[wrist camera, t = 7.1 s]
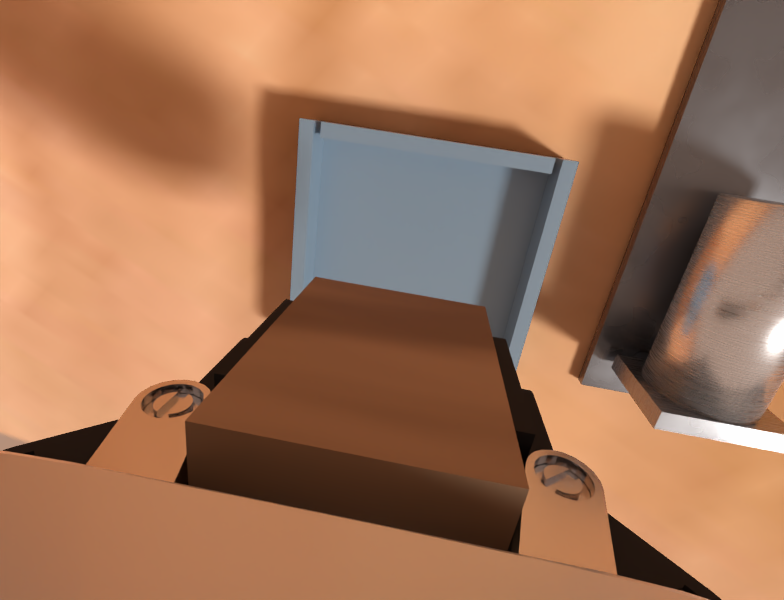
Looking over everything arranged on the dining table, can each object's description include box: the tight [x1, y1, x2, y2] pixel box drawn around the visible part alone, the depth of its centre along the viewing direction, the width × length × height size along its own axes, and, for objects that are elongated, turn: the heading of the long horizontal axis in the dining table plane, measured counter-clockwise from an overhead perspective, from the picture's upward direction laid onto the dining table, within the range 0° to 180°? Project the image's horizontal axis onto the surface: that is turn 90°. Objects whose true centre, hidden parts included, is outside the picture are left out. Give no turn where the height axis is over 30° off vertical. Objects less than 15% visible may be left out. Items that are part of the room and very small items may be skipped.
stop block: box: [185, 277, 529, 551], centre depth 9 cm, size 4×4×6 cm
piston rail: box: [579, 0, 784, 393], centre depth 18 cm, size 18×7×1 cm, turn 172°
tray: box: [290, 118, 579, 370], centre depth 20 cm, size 11×11×2 cm
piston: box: [611, 193, 784, 453], centre depth 17 cm, size 9×5×5 cm, turn 172°
